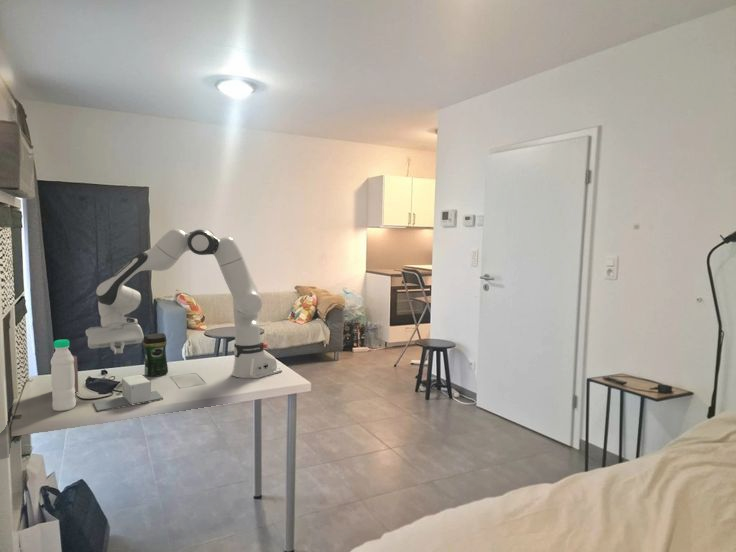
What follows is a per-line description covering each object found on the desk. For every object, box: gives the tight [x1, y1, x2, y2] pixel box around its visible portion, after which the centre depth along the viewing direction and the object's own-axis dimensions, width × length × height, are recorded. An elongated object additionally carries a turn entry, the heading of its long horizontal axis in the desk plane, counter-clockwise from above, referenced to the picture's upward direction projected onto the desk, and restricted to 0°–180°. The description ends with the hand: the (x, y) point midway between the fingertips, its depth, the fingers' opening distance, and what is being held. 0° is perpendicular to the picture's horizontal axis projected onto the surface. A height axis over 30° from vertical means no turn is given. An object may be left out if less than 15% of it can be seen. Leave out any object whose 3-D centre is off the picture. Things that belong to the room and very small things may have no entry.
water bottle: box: [50, 338, 77, 412], centre depth 168 cm, size 7×7×25 cm
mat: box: [92, 390, 164, 413], centre depth 177 cm, size 22×10×1 cm, turn 128°
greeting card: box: [72, 355, 79, 394], centre depth 185 cm, size 11×7×15 cm, turn 42°
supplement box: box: [121, 374, 152, 404], centre depth 178 cm, size 7×7×13 cm
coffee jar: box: [142, 332, 169, 377], centre depth 211 cm, size 10×8×19 cm
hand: (118, 353), depth 188 cm, fingers closed
